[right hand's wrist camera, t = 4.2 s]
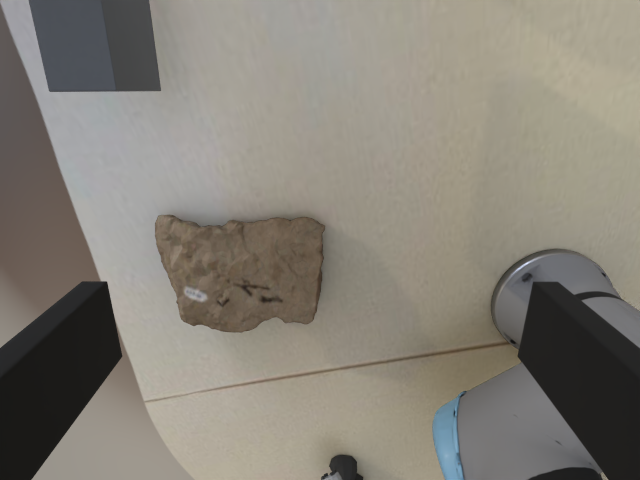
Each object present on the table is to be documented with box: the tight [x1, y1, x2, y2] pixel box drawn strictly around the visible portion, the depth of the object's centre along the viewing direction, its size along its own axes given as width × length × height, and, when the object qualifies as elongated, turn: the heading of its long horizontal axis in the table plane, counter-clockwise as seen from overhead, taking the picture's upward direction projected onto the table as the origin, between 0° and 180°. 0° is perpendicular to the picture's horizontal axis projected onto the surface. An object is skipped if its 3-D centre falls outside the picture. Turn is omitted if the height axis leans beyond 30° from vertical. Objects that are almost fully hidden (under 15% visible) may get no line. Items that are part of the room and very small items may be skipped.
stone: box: [155, 215, 325, 332], centre depth 52 cm, size 21×15×6 cm
